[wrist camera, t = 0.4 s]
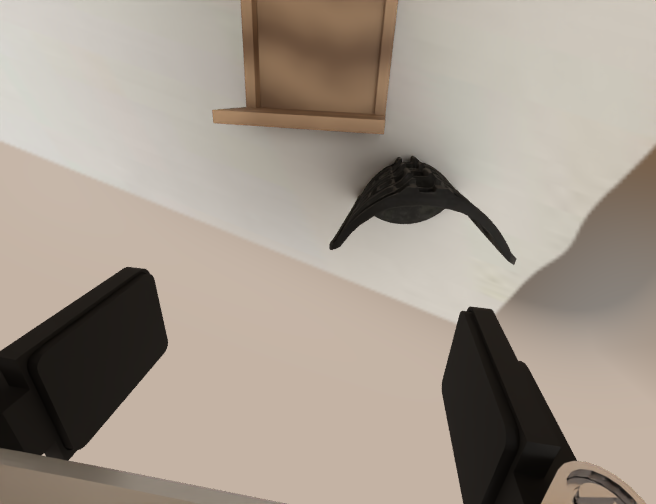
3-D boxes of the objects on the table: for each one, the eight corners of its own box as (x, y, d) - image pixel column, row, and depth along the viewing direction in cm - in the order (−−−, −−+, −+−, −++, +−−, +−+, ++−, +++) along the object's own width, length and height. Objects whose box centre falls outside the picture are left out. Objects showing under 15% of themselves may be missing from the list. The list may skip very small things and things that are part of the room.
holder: (361, 230, 40) (341, 313, 21) (349, 167, 38) (315, 197, 19) (458, 214, 37) (531, 292, 19) (451, 145, 35) (526, 156, 17)
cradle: (248, -49, 30) (191, -109, 21) (403, -48, 29) (412, -114, 20) (255, 116, 36) (213, 123, 27) (383, 124, 35) (383, 134, 26)
